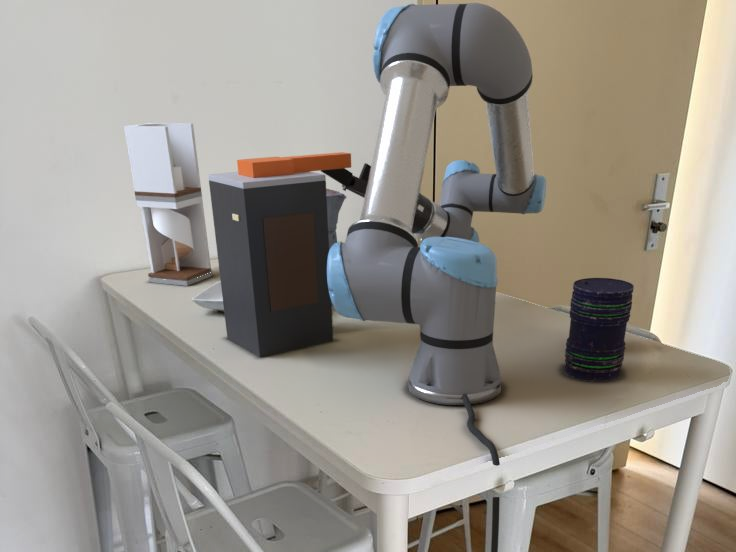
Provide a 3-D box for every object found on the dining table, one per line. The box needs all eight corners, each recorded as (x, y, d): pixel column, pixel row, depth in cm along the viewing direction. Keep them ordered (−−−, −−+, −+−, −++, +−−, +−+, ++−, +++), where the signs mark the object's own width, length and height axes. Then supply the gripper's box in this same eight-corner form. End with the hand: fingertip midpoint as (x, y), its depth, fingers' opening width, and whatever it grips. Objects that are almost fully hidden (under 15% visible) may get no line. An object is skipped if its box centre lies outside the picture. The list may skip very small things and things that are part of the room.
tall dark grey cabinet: (297, 324, 160) (286, 167, 145) (333, 341, 150) (326, 174, 135) (226, 338, 152) (206, 174, 137) (259, 357, 142) (242, 182, 127)
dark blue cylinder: (628, 368, 135) (641, 281, 128) (612, 385, 128) (625, 295, 120) (573, 359, 140) (583, 275, 132) (554, 375, 132) (564, 287, 125)
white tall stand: (149, 282, 193) (123, 126, 175) (175, 272, 201) (152, 122, 183) (187, 285, 189) (165, 126, 171) (211, 276, 197) (193, 123, 180)
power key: (338, 165, 147) (338, 151, 145) (355, 168, 142) (355, 154, 141) (238, 174, 136) (236, 159, 135) (253, 177, 132) (252, 162, 131)
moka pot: (344, 264, 207) (341, 184, 197) (289, 262, 210) (284, 183, 199) (353, 256, 215) (350, 179, 205) (300, 255, 218) (295, 178, 207)
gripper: (451, 243, 150) (372, 194, 136) (378, 225, 168) (302, 180, 154) (467, 206, 149) (389, 152, 134) (392, 192, 167) (316, 143, 152)
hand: (342, 167), depth 144 cm, fingers open, 13 cm apart
